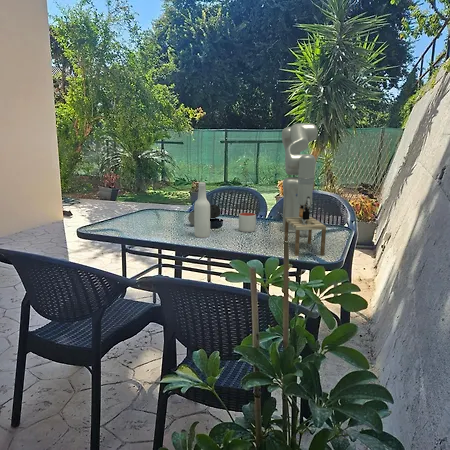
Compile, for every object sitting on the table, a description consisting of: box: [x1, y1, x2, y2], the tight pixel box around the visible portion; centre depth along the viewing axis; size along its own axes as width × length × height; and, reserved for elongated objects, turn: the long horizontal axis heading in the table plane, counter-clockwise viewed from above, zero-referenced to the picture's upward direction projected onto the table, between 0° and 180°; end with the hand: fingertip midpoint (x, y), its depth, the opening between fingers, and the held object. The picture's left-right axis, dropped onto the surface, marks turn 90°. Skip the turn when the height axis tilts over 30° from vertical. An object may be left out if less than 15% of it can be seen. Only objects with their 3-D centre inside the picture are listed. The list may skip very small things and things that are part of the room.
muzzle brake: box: [187, 204, 222, 226], centre depth 256 cm, size 10×28×10 cm, turn 154°
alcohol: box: [193, 181, 211, 239], centre depth 220 cm, size 9×9×30 cm
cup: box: [238, 212, 257, 233], centre depth 235 cm, size 10×10×10 cm
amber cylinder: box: [299, 208, 309, 239], centre depth 197 cm, size 5×5×14 cm
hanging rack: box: [283, 216, 327, 257], centre depth 197 cm, size 22×14×14 cm, turn 5°
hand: (304, 217), depth 196 cm, fingers closed on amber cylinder, 5 cm apart
